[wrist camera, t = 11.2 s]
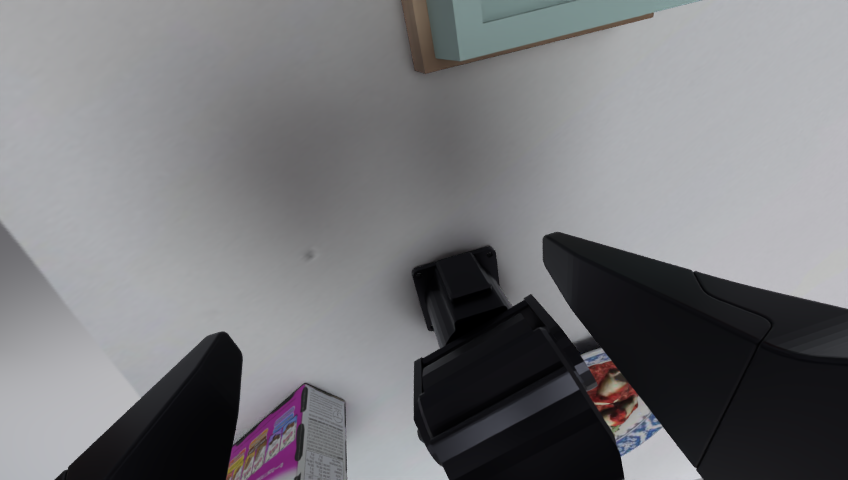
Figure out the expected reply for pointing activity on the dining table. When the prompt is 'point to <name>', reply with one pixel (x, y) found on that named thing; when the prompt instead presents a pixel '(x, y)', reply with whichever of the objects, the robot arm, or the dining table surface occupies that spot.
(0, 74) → the dining table surface
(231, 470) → the candy bar box
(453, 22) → the top block
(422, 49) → the bottom block
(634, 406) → the ceramic plate
